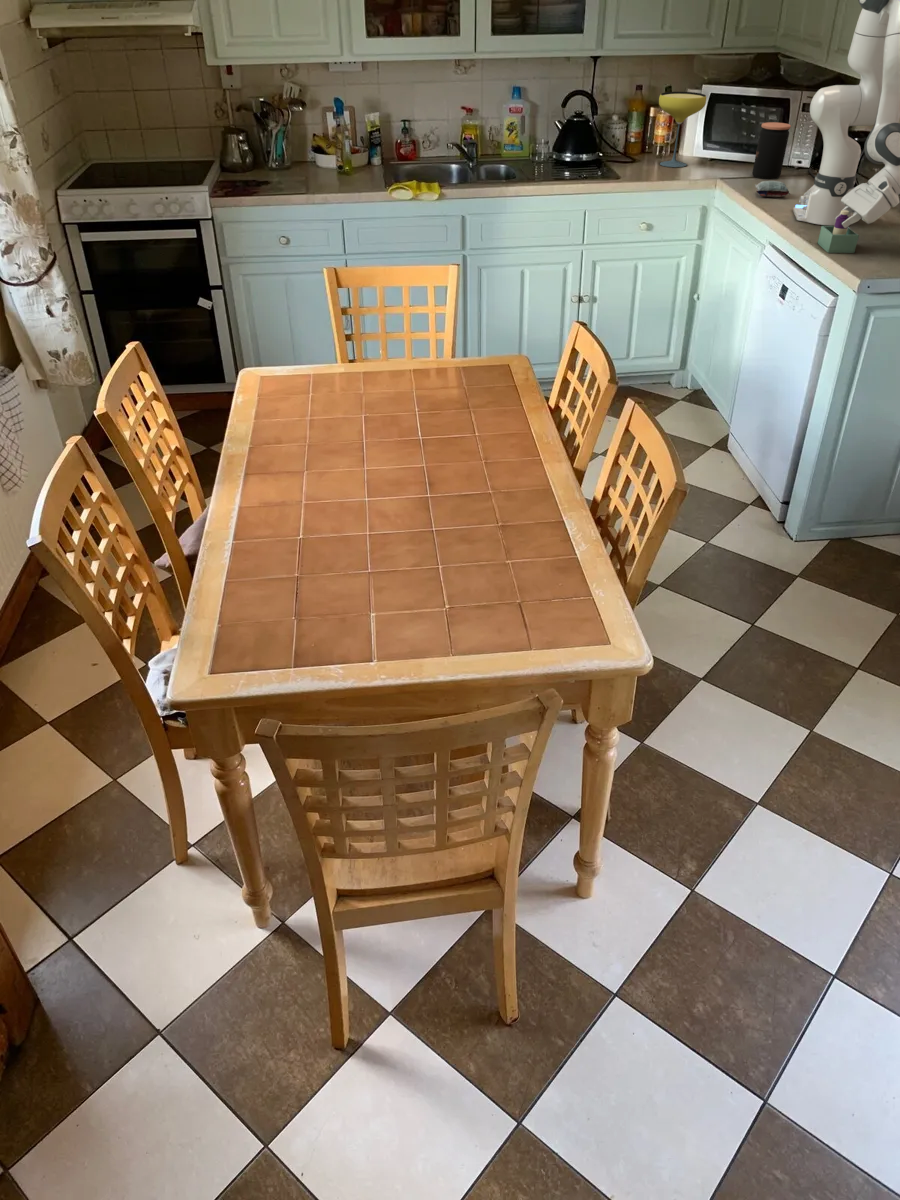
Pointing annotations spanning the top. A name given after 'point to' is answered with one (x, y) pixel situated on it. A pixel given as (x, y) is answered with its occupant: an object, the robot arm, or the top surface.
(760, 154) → the coffee jar
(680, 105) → the cocktail glass
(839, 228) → the grape juice bottle
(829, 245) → the bin
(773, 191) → the packaged food
